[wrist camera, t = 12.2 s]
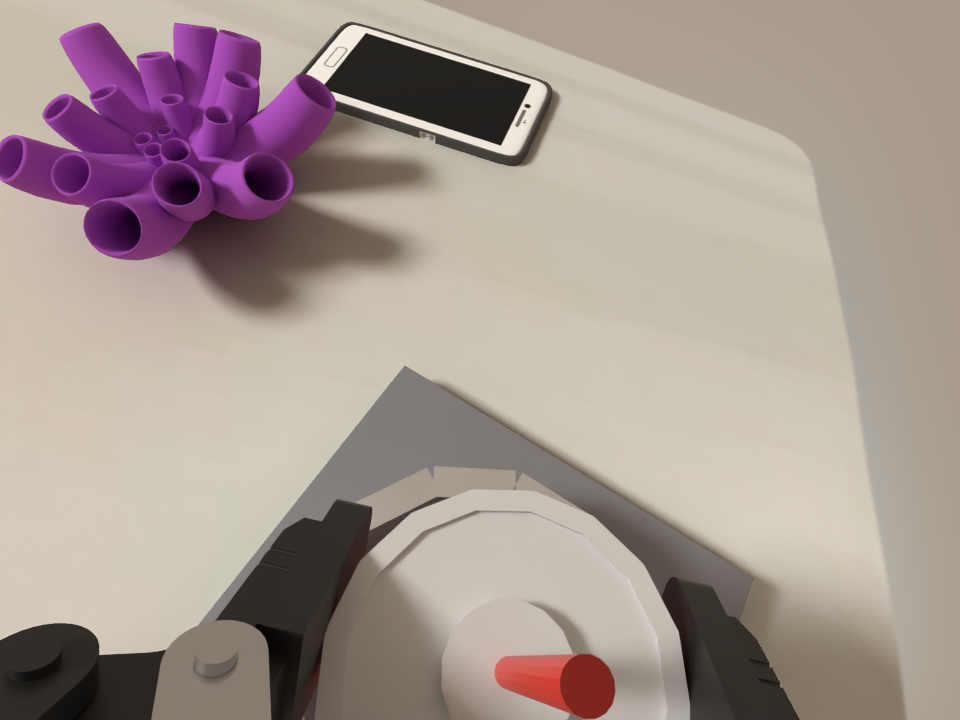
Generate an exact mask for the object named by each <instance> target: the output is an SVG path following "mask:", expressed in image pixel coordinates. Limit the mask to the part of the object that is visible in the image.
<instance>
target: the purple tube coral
mask: <svg viewBox="0 0 960 720" xmlns="http://www.w3.org/2000/svg"><path fill="white" fill-rule="evenodd" d="M173 41H174V60H173V58H172V56H171V55H170V53H169V52H150V53H145V54H141V55H138V56H137V64H138V68H139V71H138V70H137V69H136V67H135V66H134V64H133V63H132V62H131V60H130V59H129V58H128V56H127V55H126V54H125V52H124V51H123V50H122V48H121V47H120V46H119V44H118V43H117V42H116V40H115V39H114V38H113V37H112V35H111V34H110V33H109V32H108V31H107V29H106V28H105V27H104V26H103V25H102V24H100V23H92V24H87V25H84V26H81V27H78V28H76V29H73V30H71V31H69V32H67V33H65V34H64V35H62V36H61V37H60V43H61V45H62V47H63V49H64V50H65V52H66V54H67V56H68V58H69V59H70V61H71V62H72V64H73V66H74V67H75V69H76V71H77V72H78V74H79V75H80V77H81V78H82V80H83V81H84V83H85V84H86V85H87V87H88V88H89V90H90V91H91V95H90V100H91V102H92V104H93V105H94V107H95V108H96V110H97V111H98V113H99V114H100V115H101V116H100V115H99V114H97V113H96V112H94V111H93V110H92V109H90V108H89V107H87V106H86V105H85V104H83V103H82V102H80V101H79V100H77V99H76V98H74V97H73V96H71V95H68V94H63V95H60V96H58V97H56V98H55V99H54V100H52V101H51V102H50V103H49V104H48V105H47V107H46V108H45V109H44V111H43V118H44V120H45V122H46V123H47V124H48V125H49V126H50V127H51V128H52V129H53V130H55V131H56V132H57V133H58V134H59V135H60V136H62V137H63V138H64V139H65V140H66V141H68V142H69V143H71V144H72V145H74V146H75V147H77V148H78V149H80V150H81V151H83V152H79V151H73V150H69V149H65V148H61V147H57V146H53V145H50V144H46V143H43V142H40V141H37V140H33V139H30V138H26V137H23V136H18V135H11V136H8V137H6V138H5V139H3V140H2V141H1V143H0V180H1V181H2V182H4V183H6V184H8V185H10V186H12V187H14V188H16V189H19V190H21V191H24V192H27V193H29V194H32V195H35V196H38V197H42V198H46V199H50V200H54V201H58V202H63V203H67V204H74V205H84V206H86V207H89V208H90V209H89V210H88V211H87V213H86V215H85V218H84V231H85V234H86V237H87V238H88V240H89V242H90V243H91V245H92V246H93V247H95V248H96V249H97V250H98V251H99V252H101V253H103V254H105V255H107V256H110V257H113V258H118V259H125V260H143V259H148V258H152V257H155V256H159V255H161V254H163V253H165V252H167V251H169V250H170V249H171V248H173V247H174V246H175V245H176V244H178V243H179V242H180V241H181V240H182V239H183V238H184V236H185V235H186V234H187V232H188V231H189V229H190V228H191V226H192V225H193V223H194V222H195V221H198V220H200V219H203V218H205V217H206V216H207V215H209V214H210V213H211V212H212V211H213V210H214V211H216V212H218V213H221V214H224V215H227V216H230V217H233V218H238V219H247V220H258V219H264V218H266V217H268V216H271V215H273V214H275V213H277V212H279V211H280V210H281V209H282V208H283V207H284V206H285V205H286V203H287V202H288V201H289V200H290V198H291V195H292V192H293V190H294V177H293V174H292V171H291V170H290V168H289V167H288V165H287V164H286V163H288V162H289V161H291V160H292V159H294V158H295V157H296V156H298V155H299V154H301V153H302V152H304V151H305V150H307V148H308V147H309V146H310V145H311V144H312V143H313V142H314V141H315V140H316V139H317V138H318V137H319V136H320V135H321V133H322V132H323V131H324V129H325V128H326V126H327V125H328V123H329V121H330V120H331V118H332V116H333V114H334V112H335V110H336V100H335V97H334V96H333V94H332V92H331V91H330V90H329V89H328V88H327V87H326V86H325V85H324V84H323V83H322V82H320V81H319V80H317V79H316V78H314V77H312V76H310V75H307V74H299V75H297V76H296V77H295V78H293V80H292V81H291V82H290V83H289V84H288V85H287V86H286V87H285V88H284V89H283V91H282V92H281V93H280V94H279V95H278V96H277V97H276V98H275V99H274V100H273V101H272V102H271V103H270V104H269V105H268V106H267V107H266V108H264V109H263V110H261V111H260V112H258V113H257V111H258V106H259V96H260V89H259V84H258V82H259V77H260V66H261V46H260V43H259V42H258V41H256V40H254V39H252V38H249V37H246V36H243V35H240V34H237V33H234V32H230V31H226V30H219V32H218V33H217V30H216V28H212V27H205V26H197V25H189V24H180V23H175V24H174V29H173ZM139 72H140V73H139Z"/></svg>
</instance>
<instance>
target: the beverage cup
mask: <svg viewBox="0 0 960 720" xmlns="http://www.w3.org/2000/svg"><path fill="white" fill-rule="evenodd" d="M314 718H315V720H690V701H689V694H688V688H687V681H686V675H685V669H684V662H683V656H682V649H681V643H680V637H679V632H678V630H677V628H676V626H675V624H674V622H673V620H672V618H671V616H670V614H669V612H668V610H667V608H666V606H665V604H664V602H663V600H662V599H661V597H660V595H659V593H658V591H657V589H656V587H655V585H654V583H653V581H652V579H651V577H650V575H649V573H648V571H647V569H646V567H645V566H644V564H643V563H642V562H641V561H640V560H639V559H638V558H637V557H636V556H635V555H634V554H633V553H632V552H631V551H629V550H628V549H627V548H626V547H625V546H624V545H623V544H622V543H621V542H620V541H619V540H618V539H617V538H616V537H615V536H614V535H613V534H612V533H611V532H610V531H609V530H608V529H606V528H605V527H604V526H603V525H602V524H601V523H600V522H599V521H598V520H597V519H596V518H595V517H594V516H592V515H590V514H587V513H585V512H583V511H580V510H578V509H576V508H573V507H571V506H569V505H566V504H564V503H562V502H559V501H557V500H555V499H552V498H550V497H548V496H545V495H543V494H541V493H539V492H536V491H524V490H481V489H471V490H469V491H466V492H464V493H461V494H458V495H456V496H453V497H451V498H448V499H446V500H443V501H440V502H438V503H435V504H433V505H430V506H427V507H425V508H422V509H420V510H417V511H415V512H412V513H411V514H410V515H409V516H407V517H406V518H405V519H404V520H403V521H402V522H401V523H400V524H399V525H398V526H397V527H396V528H395V529H393V530H392V531H391V532H390V533H389V534H388V535H387V536H386V537H385V538H384V539H383V540H382V541H381V542H380V543H378V544H377V545H376V546H375V547H374V548H373V549H372V550H371V551H370V552H369V553H368V554H367V555H366V556H364V557H363V558H362V559H361V560H360V562H359V564H358V566H357V568H356V570H355V572H354V574H353V576H352V578H351V580H350V582H349V584H348V586H347V588H346V590H345V592H344V594H343V596H342V598H341V600H340V602H339V604H338V606H337V608H336V610H335V612H334V614H333V616H332V618H331V620H330V622H329V624H328V627H327V630H326V633H325V636H324V642H323V651H322V659H321V667H320V675H319V684H318V692H317V700H316V709H315V717H314Z"/></svg>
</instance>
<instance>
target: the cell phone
mask: <svg viewBox="0 0 960 720" xmlns="http://www.w3.org/2000/svg"><path fill="white" fill-rule="evenodd" d="M488 65H489V66H488ZM491 66H492V67H491ZM501 69H502V70H501ZM504 70H505V71H504ZM300 74H307V75H310V76H312V77H314V78H316V79H317V80H319V81H320V82H322V83H323V84H324V85H325V86H326V87H327V88H328V89H329V90H330V91H331V92H332V94H333V96H334V97H335V100H336V110H335V111H338V112H341V113H344V114H347V115H350V116H354V117H357V118H360V119H363V120H366V121H369V122H372V123H375V124H378V125H381V126H384V127H387V128H390V129H393V130H397V131H400V132H403V133H406V134H409V135H412V136H415V137H418V138H419V136H420V137H423V138H426V139H429V140H432V141H435V143H436V144H440V145H443V146H446V147H449V148H452V149H455V150H458V151H461V152H464V153H468V154H471V155H474V156H477V157H480V158H483V159H486V160H489V161H492V162H495V163H499V164H504V165H508V166H516V165H519V164H520V163H521V162H522V161H523V160H524V158H525V157H526V155H527V153H528V150H529V148H530V146H531V144H532V142H533V139H534V137H535V135H536V133H537V131H538V128H539V126H540V124H541V122H542V120H543V117H544V115H545V113H546V111H547V109H548V106H549V104H550V101H551V96H552V88H551V86H550V85H549V84H548V83H547V82H545V81H542V80H540V79H537V78H534V77H531V76H528V75H525V74H522V73H519V72H515V71H512V70H509V69H506V68H502V67H499V66H496V65H493V64H490V63H486V62H483V61H480V60H477V59H473V58H470V57H467V56H464V55H461V54H457V53H454V52H451V51H448V50H444V49H441V48H438V47H435V46H431V45H428V44H425V43H422V42H419V41H415V40H412V39H409V38H406V37H402V36H399V35H396V34H393V33H390V32H386V31H383V30H380V29H377V28H373V27H370V26H366V25H363V24H359V23H354V22H349V23H346V24H344V25H342V26H341V27H340V28H339V29H338V30H337V31H336V32H335V33H334V35H333V36H332V37H331V38H330V39H329V40H328V42H327V43H326V44H325V45H324V46H323V47H322V49H321V50H320V51H319V52H318V53H317V54H316V56H315V57H314V58H313V59H312V60H311V61H310V63H309V64H308V65H307V66H306V67H305V68H304V70H303V71H302V72H301V73H300ZM517 74H518V75H517Z"/></svg>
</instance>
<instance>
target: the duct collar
mask: <svg viewBox="0 0 960 720" xmlns="http://www.w3.org/2000/svg"><path fill="white" fill-rule="evenodd" d="M471 489H481V490H524V491H536V492H539V493H541V494H543V495H545V496H548V497H550V498H552V499H555V500H557V501H559V502H562V503H564V504H566V505H569V506H571V507H573V508H576V509H578V510H580V511H583V510H582V509H580V508H578V507H577V506H575V505H574V504H572V503H570V502H569V501H567V500H566V499H564V498H562V497H561V496H559V495H558V494H556V493H554V492H553V491H551V490H550V489H548V488H546V487H545V486H543V485H541V484H540V483H538V482H537V481H535V480H533V479H532V478H530V477H529V476H527V475H525V474H524V473H522V474H521V476H520V478H519V480H518V481H517V483H516V471H515V470H497V469H478V468H460V467H442V466H434V477H433V478H432V476H431V474H430V472H429V470H428V468H425V469H423V470H421V471H419V472H417V473H415V474H413V475H411V476H409V477H407V478H405V479H402V480H400V481H398V482H396V483H394V484H392V485H390V486H388V487H386V488H384V489H382V490H380V491H378V492H376V493H374V494H372V495H369V496H367V497H365V498H363V499H361V500H359V501H357V502H355V503H358V504H362V505H367V506H371V507H372V519H371V525H370V530H369V536H368V542H367V548H366V554H365V556H366V555H367V554H368V553H369V552H370V551H371V550H372V549H373V548H374V547H375V546H376V545H377V544H378V543H380V542H381V541H382V540H383V539H384V538H385V537H386V536H387V535H388V534H389V533H390V532H391V531H392V530H393V529H395V528H396V527H397V526H398V525H399V524H400V523H401V522H402V521H403V520H404V519H405V518H406V517H407V516H409V515H410V514H411V513H412V512H415V511H417V510H420V509H422V508H425V507H427V506H430V505H433V504H435V503H438V502H440V501H443V500H446V499H448V498H451V497H453V496H456V495H458V494H461V493H464V492H466V491H469V490H471ZM583 512H585V511H583ZM585 513H586V512H585ZM587 514H588V513H587ZM318 684H319V682H318ZM318 684H317V686H316V689H315V691H314V693H313V695H312V698H311V700H310V702H309V705H308V707H307V709H306V711H305V714H304V716H303V718H302V720H315V718H314V717H315V709H316V700H317V692H318Z"/></svg>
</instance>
